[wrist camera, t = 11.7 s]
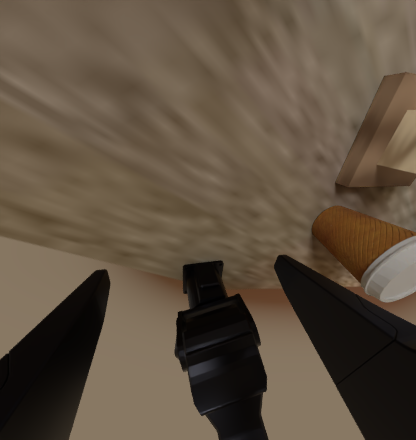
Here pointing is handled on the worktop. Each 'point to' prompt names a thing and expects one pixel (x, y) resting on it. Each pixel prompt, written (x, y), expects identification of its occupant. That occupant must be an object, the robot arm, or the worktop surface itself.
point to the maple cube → (402, 146)
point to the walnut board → (380, 136)
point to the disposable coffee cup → (370, 251)
